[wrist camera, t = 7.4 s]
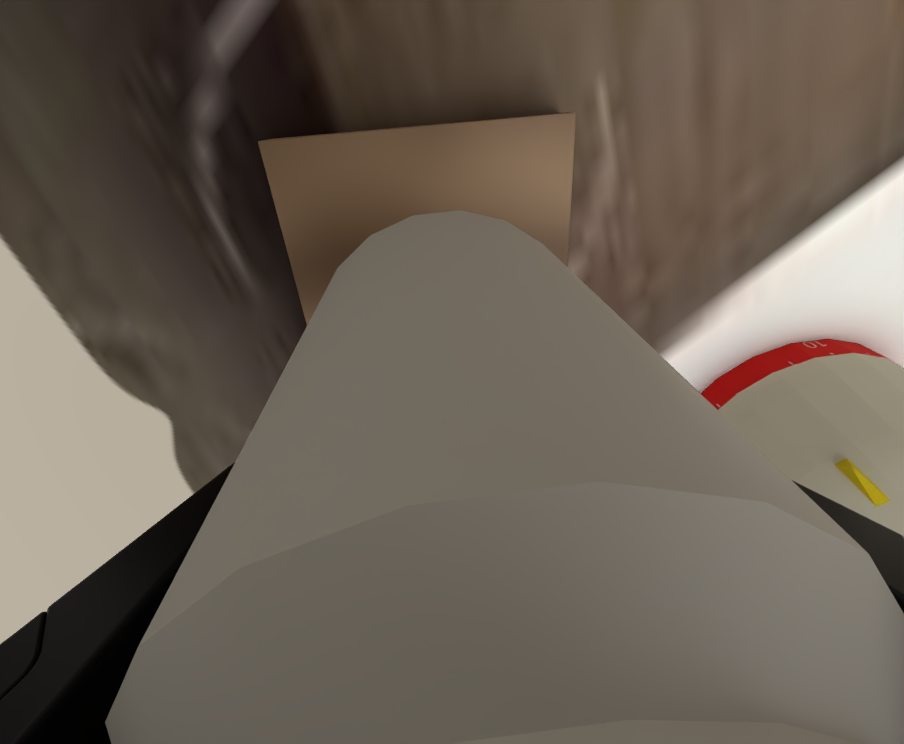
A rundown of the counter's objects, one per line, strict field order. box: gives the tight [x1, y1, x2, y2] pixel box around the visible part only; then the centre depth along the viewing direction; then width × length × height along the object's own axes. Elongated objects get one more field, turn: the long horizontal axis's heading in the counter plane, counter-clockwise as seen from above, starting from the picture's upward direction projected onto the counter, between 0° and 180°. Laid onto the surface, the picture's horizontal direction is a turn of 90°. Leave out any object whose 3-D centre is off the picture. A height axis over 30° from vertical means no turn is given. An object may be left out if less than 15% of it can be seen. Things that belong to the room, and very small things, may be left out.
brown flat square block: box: [258, 113, 576, 325], centre depth 19 cm, size 11×11×2 cm
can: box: [105, 210, 904, 744], centre depth 8 cm, size 8×8×12 cm
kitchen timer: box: [701, 339, 904, 537], centre depth 20 cm, size 14×14×15 cm
